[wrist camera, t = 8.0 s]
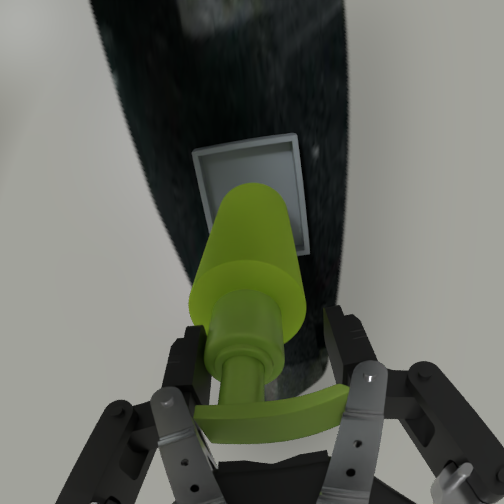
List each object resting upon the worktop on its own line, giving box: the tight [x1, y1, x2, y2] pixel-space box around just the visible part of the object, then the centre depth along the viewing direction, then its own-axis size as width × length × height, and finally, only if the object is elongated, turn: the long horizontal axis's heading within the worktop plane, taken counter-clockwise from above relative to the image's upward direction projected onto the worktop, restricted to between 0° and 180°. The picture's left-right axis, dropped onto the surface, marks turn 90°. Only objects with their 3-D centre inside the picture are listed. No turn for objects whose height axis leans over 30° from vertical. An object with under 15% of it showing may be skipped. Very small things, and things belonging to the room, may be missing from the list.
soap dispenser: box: [189, 183, 350, 444], centre depth 18 cm, size 6×7×20 cm
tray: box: [192, 133, 310, 256], centre depth 31 cm, size 12×10×2 cm
